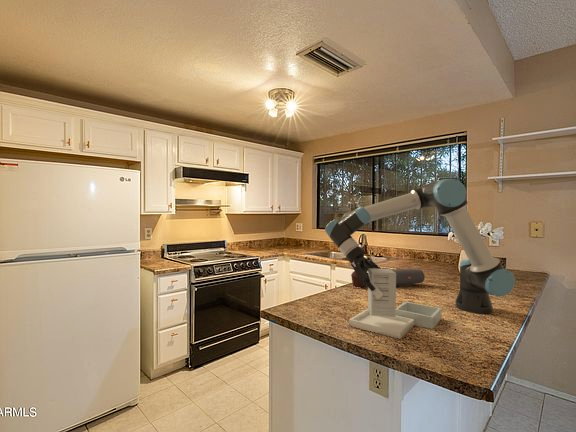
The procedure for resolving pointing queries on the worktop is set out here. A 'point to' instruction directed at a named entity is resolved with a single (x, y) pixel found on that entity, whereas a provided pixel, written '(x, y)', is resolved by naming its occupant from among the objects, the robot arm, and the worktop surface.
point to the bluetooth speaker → (409, 277)
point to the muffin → (356, 280)
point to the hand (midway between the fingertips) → (387, 293)
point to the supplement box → (387, 286)
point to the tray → (382, 324)
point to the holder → (420, 314)
